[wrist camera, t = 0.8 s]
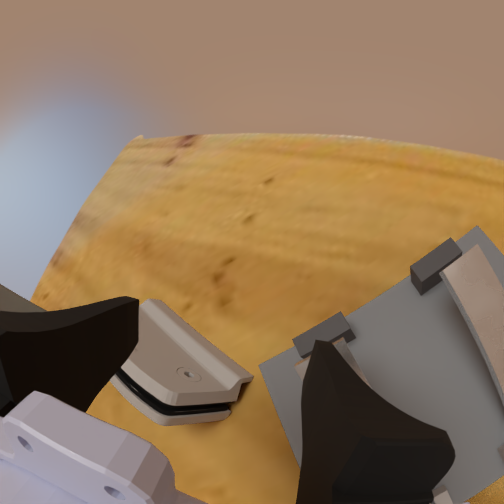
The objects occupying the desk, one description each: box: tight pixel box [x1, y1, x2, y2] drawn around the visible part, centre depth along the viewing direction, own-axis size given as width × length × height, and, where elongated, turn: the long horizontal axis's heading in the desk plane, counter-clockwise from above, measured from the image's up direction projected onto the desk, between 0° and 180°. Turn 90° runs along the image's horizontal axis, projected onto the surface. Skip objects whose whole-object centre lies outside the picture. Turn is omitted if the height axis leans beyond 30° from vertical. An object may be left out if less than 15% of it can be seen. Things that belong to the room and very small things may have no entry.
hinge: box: [110, 299, 254, 426], centre depth 28 cm, size 17×5×10 cm, turn 51°
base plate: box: [259, 226, 504, 504], centre depth 17 cm, size 18×22×5 cm
